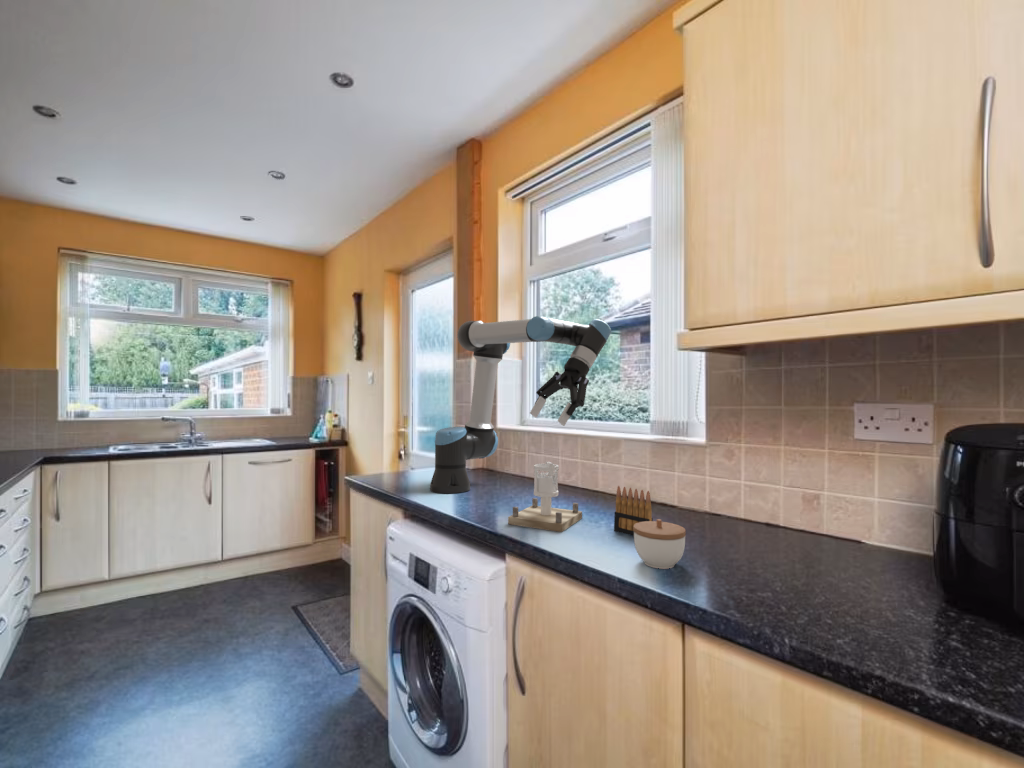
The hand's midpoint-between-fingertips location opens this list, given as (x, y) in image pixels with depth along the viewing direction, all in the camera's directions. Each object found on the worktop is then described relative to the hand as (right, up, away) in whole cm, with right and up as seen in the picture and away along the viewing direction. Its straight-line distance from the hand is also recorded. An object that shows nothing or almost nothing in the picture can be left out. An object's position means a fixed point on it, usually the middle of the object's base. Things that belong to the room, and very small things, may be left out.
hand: (546, 419), depth 145 cm
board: (-1, -28, -10) cm, 30 cm away
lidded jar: (+21, -28, -44) cm, 56 cm away
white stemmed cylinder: (-1, -26, -10) cm, 28 cm away
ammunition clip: (+21, -28, -23) cm, 42 cm away
